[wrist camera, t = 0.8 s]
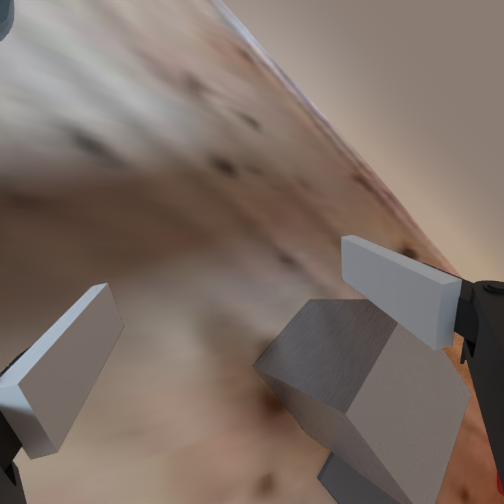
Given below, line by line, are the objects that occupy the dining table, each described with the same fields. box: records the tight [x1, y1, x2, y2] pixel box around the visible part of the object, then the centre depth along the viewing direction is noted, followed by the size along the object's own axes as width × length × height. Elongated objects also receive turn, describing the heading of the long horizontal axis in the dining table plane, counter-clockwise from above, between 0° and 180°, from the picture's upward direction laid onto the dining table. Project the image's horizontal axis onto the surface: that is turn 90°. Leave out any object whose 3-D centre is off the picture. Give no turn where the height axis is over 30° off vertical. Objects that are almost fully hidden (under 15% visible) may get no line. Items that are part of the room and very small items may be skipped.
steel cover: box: [253, 299, 471, 504], centre depth 23 cm, size 10×10×12 cm
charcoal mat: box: [318, 453, 400, 504], centre depth 31 cm, size 14×18×1 cm
